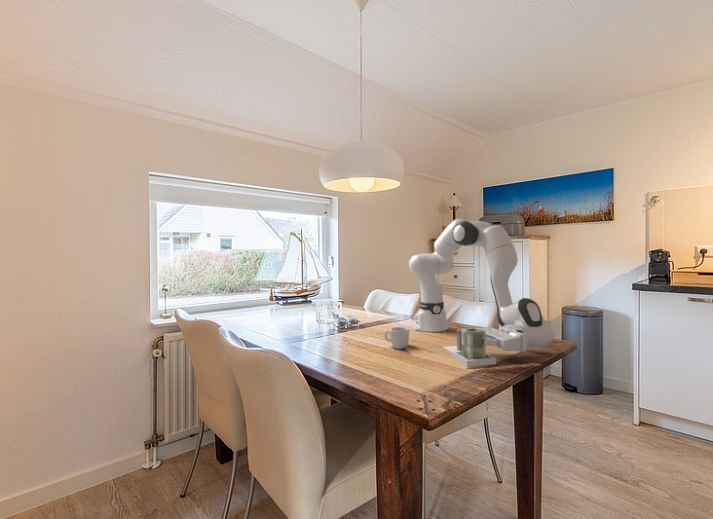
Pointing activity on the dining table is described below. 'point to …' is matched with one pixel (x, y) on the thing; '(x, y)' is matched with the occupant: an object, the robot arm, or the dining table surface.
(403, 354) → the dining table surface
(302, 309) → the dining table surface
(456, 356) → the tray
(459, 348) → the stake board
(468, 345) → the sleeve
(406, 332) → the cup
